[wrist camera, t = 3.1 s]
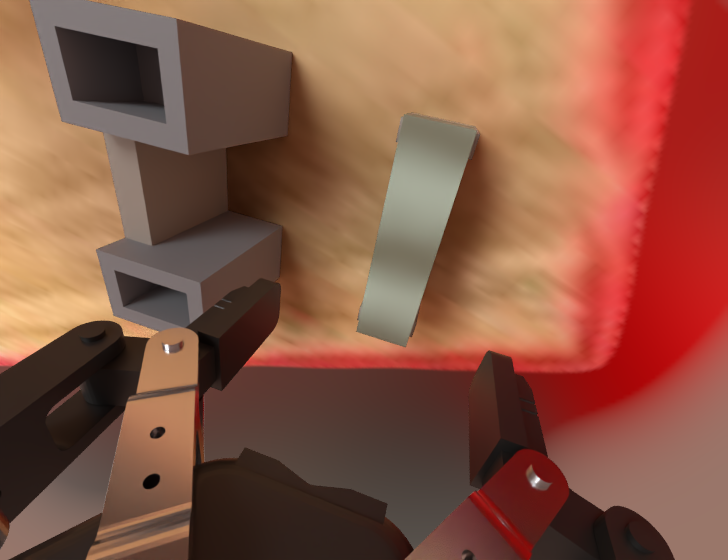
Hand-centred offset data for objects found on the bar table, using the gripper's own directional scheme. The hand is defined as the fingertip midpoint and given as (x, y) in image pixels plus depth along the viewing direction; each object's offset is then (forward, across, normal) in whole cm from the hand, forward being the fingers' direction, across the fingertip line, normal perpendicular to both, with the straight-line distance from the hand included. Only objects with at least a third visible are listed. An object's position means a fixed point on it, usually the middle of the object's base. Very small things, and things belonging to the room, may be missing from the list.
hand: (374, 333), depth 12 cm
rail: (+14, 0, 0) cm, 14 cm away
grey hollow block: (+14, +14, 0) cm, 20 cm away
